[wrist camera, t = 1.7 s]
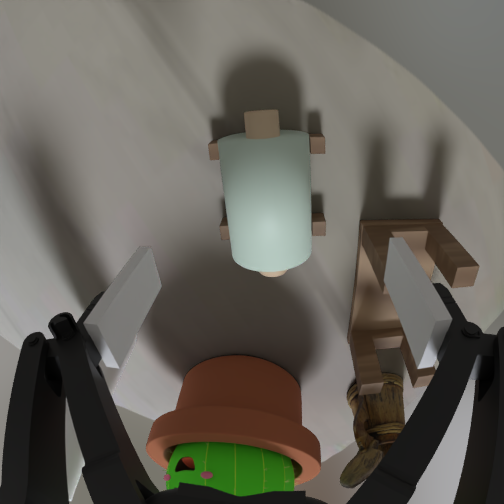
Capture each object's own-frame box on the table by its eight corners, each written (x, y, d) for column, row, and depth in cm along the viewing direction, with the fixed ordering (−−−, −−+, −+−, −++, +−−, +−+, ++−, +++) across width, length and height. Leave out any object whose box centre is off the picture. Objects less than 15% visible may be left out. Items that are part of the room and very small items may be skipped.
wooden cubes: (212, 140, 27) (208, 144, 25) (321, 133, 25) (324, 137, 24) (224, 230, 31) (221, 239, 29) (323, 226, 30) (325, 235, 28)
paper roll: (224, 111, 25) (203, 120, 19) (305, 106, 24) (310, 112, 18) (240, 250, 32) (228, 292, 26) (309, 249, 31) (313, 291, 25)
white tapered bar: (116, 352, 43) (55, 495, 21) (84, 320, 40) (4, 463, 18) (146, 341, 40) (83, 505, 19) (111, 305, 38) (23, 470, 16)
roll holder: (359, 220, 29) (385, 271, 21) (438, 218, 28) (480, 264, 20) (347, 337, 37) (357, 395, 29) (412, 331, 36) (432, 385, 28)
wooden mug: (363, 352, 38) (386, 475, 23) (411, 383, 42) (436, 481, 26) (316, 383, 42) (321, 497, 27) (369, 409, 46) (382, 503, 30)
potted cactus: (339, 399, 44) (350, 547, 23) (233, 432, 52) (216, 551, 30) (256, 316, 36) (232, 536, 15) (143, 370, 44) (93, 513, 23)
